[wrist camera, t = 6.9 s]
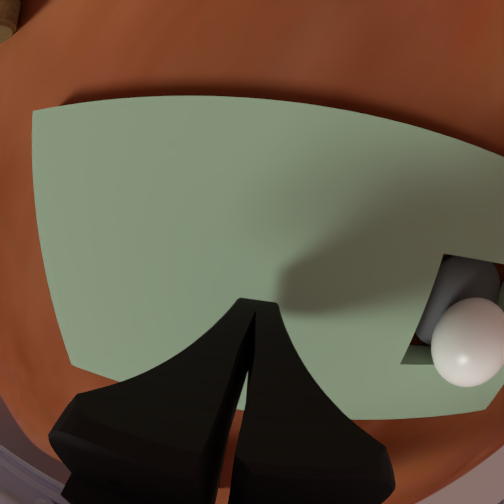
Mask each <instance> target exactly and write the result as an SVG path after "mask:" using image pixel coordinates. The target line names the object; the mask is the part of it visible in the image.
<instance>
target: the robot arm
mask: <svg viewBox="0 0 504 504" xmlns="http://www.w3.org/2000/svg"><path fill="white" fill-rule="evenodd" d="M247 373H248V378H247V393H246V404H245V409H244V414H243V419H242V424H241V429H240V433H239V438H238V443H237V447H236V452H235V457H234V465H233V472H232V480H231V488H230V495H229V501H228V504H381V503H382V502H384V501H385V500H386V499H387V498H388V497H389V496H390V495H391V494H392V492H393V491H394V489H395V485H396V484H395V478H394V472H393V468H392V465H391V461H390V458H389V455H388V453H387V450H386V447H385V446H384V445H383V444H381V443H380V442H378V441H377V440H376V439H374V438H373V437H372V436H370V435H369V434H368V433H366V432H365V431H364V430H362V429H361V428H360V427H358V426H357V425H356V424H355V423H354V422H353V421H352V420H351V419H349V418H348V417H347V416H346V415H345V414H344V413H343V412H342V411H341V410H340V409H339V408H338V407H337V406H336V405H335V404H334V403H333V401H332V400H331V399H330V398H329V397H328V396H327V395H326V394H325V393H324V391H323V390H322V389H321V388H320V386H319V385H318V384H317V382H316V381H315V380H314V378H313V377H312V375H311V374H310V373H309V371H308V370H307V368H306V366H305V365H304V363H303V362H302V360H301V358H300V356H299V355H298V353H297V351H296V349H295V347H294V345H293V343H292V341H291V339H290V337H289V334H288V332H287V330H286V327H285V325H284V322H283V319H282V316H281V313H280V308H279V305H278V304H277V303H276V302H269V301H261V300H254V299H248V298H241V297H240V298H239V299H237V300H236V301H235V303H234V304H233V305H232V306H231V308H230V309H229V310H228V311H227V312H226V313H225V314H224V315H223V316H222V317H221V318H220V319H219V320H218V321H217V322H216V323H215V324H214V325H213V326H212V327H211V328H210V329H209V330H208V331H207V332H205V333H204V334H203V335H202V336H201V337H199V338H198V339H197V340H196V341H195V342H193V343H192V344H191V345H189V346H188V347H187V348H185V349H184V350H183V351H181V352H180V353H178V354H176V355H175V356H173V357H172V358H170V359H168V360H167V361H165V362H163V363H161V364H160V365H158V366H156V367H154V368H152V369H150V370H148V371H146V372H144V373H142V374H139V375H137V376H135V377H132V378H130V379H127V380H124V381H122V382H119V383H116V384H113V385H110V386H106V387H103V388H99V389H95V390H92V391H88V392H84V393H79V394H77V395H76V396H75V397H74V398H73V400H72V401H71V402H70V403H69V404H68V405H67V407H66V408H65V410H64V411H63V413H62V414H61V416H60V417H59V419H58V420H57V422H56V423H55V425H54V426H53V428H52V430H51V431H50V433H49V434H48V437H49V442H50V445H51V446H52V448H53V450H54V451H55V453H56V454H57V455H58V456H59V458H60V459H61V460H62V462H63V463H64V464H65V465H66V466H67V468H68V469H69V470H70V472H71V473H72V474H71V475H70V477H69V479H68V481H67V483H66V485H63V484H61V483H60V482H58V481H56V480H54V479H52V478H51V477H49V476H47V475H45V474H44V473H42V472H40V471H39V470H37V469H35V468H34V467H32V466H31V465H29V464H28V463H26V462H25V461H23V460H22V459H20V458H19V457H17V456H16V455H14V454H12V453H11V452H10V451H8V450H7V449H6V448H4V447H3V446H2V445H0V504H215V501H216V496H217V492H218V486H219V481H220V477H221V472H222V467H223V462H224V457H225V452H226V447H227V442H228V437H229V432H230V429H231V425H232V421H233V418H234V415H235V412H236V408H237V405H238V402H239V399H240V396H241V392H242V389H243V386H244V383H245V379H246V376H247ZM498 504H504V500H502V501H501V502H499V503H498Z"/></svg>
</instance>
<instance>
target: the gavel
mask: <svg viewBox="0 0 504 504" xmlns="http://www.w3.org/2000/svg"><path fill="white" fill-rule="evenodd" d="M20 8H21V2H20V0H0V43H2V42H3V41H5V40H6V39H8V38H9V37H11V36H12V35H13V34H14V33H15V32H16V30H17V24H18V18H19V13H20Z"/></svg>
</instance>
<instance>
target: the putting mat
mask: <svg viewBox="0 0 504 504" xmlns="http://www.w3.org/2000/svg"><path fill="white" fill-rule="evenodd" d="M32 166H33V184H34V197H35V207H36V216H37V224H38V231H39V238H40V245H41V250H42V256H43V261H44V267H45V272H46V276H47V281H48V285H49V290H50V294H51V298H52V302H53V306H54V310H55V313H56V317H57V320H58V324H59V327H60V331H61V334H62V337H63V340H64V343H65V346H66V349H67V352H68V355H69V358H70V361H71V364H72V365H74V366H76V367H79V368H82V369H84V370H87V371H90V372H93V373H95V374H98V375H101V376H104V377H107V378H110V379H113V380H116V381H120V382H122V381H124V380H127V379H130V378H132V377H135V376H137V375H139V374H142V373H144V372H146V371H148V370H150V369H152V368H154V367H156V366H158V365H160V364H161V363H163V362H165V361H167V360H168V359H170V358H172V357H173V356H175V355H176V354H178V353H180V352H181V351H183V350H184V349H185V348H187V347H188V346H189V345H191V344H192V343H193V342H195V341H196V340H197V339H198V338H199V337H201V336H202V335H203V334H204V333H205V332H207V331H208V330H209V329H210V328H211V327H212V326H213V325H214V324H215V323H216V322H217V321H218V320H219V319H220V318H221V317H222V316H223V315H224V314H225V313H226V312H227V311H228V310H229V309H230V308H231V306H232V305H233V304H234V303H235V301H236V300H237V299H239V298H240V297H241V298H248V299H254V300H261V301H269V302H276V303H277V304H278V305H279V308H280V313H281V316H282V319H283V322H284V325H285V327H286V330H287V332H288V334H289V337H290V339H291V341H292V343H293V345H294V347H295V349H296V351H297V353H298V355H299V356H300V358H301V360H302V362H303V363H304V365H305V366H306V368H307V370H308V371H309V373H310V374H311V375H312V377H313V378H314V380H315V381H316V382H317V384H318V385H319V386H320V388H321V389H322V390H323V391H324V393H325V394H326V395H327V396H328V397H329V398H330V399H331V400H332V401H333V403H334V404H335V405H336V406H337V407H338V408H339V409H340V410H341V411H342V412H343V413H344V414H345V415H346V416H347V417H348V418H349V419H355V420H377V419H407V418H422V417H434V416H444V415H452V414H460V413H468V412H474V411H480V410H485V409H486V408H487V407H488V405H489V404H490V403H491V401H492V400H493V399H494V397H495V396H496V394H497V393H498V392H499V390H500V389H501V387H502V386H503V384H504V365H503V366H502V368H501V369H500V370H499V372H498V373H497V374H496V375H495V376H494V377H492V378H491V379H490V380H488V381H487V382H485V383H483V384H481V385H477V386H474V387H460V386H456V385H453V384H451V383H449V382H448V381H446V380H445V379H444V378H443V377H442V376H441V375H440V374H439V372H438V371H437V369H436V367H435V365H434V363H433V359H432V354H431V341H432V335H433V332H434V329H435V326H436V324H437V322H438V321H439V319H440V317H441V316H442V315H443V314H444V312H445V311H446V310H447V309H448V308H449V307H451V306H452V305H453V304H455V303H457V302H459V301H461V300H464V299H467V298H474V297H478V298H484V299H487V300H490V301H492V302H494V303H495V304H496V305H498V306H499V307H500V308H501V309H502V311H503V312H504V281H503V283H502V286H501V288H500V280H499V274H498V271H497V269H496V267H495V265H494V264H493V263H492V262H495V263H500V264H504V157H502V156H500V155H497V154H495V153H492V152H490V151H487V150H485V149H482V148H480V147H477V146H474V145H472V144H469V143H466V142H463V141H461V140H458V139H455V138H452V137H449V136H446V135H443V134H440V133H436V132H433V131H430V130H426V129H423V128H420V127H416V126H412V125H409V124H405V123H401V122H397V121H393V120H389V119H385V118H381V117H376V116H372V115H367V114H363V113H358V112H353V111H347V110H342V109H336V108H331V107H324V106H318V105H311V104H304V103H297V102H288V101H279V100H269V99H258V98H244V97H226V96H152V97H134V98H121V99H110V100H100V101H92V102H84V103H77V104H70V105H64V106H58V107H52V108H46V109H41V110H36V111H33V118H32ZM443 254H449V255H451V256H449V257H447V258H445V259H444V260H442V257H443ZM499 290H500V291H499ZM414 333H416V334H417V336H418V337H419V339H420V340H421V341H423V342H424V343H426V344H428V345H430V346H421V345H409V344H410V342H411V340H412V337H413V335H414ZM247 378H248V373H247V376H246V379H245V383H244V386H243V389H242V392H241V396H240V399H239V402H238V405H237V408H236V409H239V410H244V409H245V404H246V393H247Z"/></svg>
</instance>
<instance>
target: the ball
mask: <svg viewBox="0 0 504 504" xmlns="http://www.w3.org/2000/svg"><path fill="white" fill-rule="evenodd" d="M431 354H432V359H433V363H434V365H435V367H436V369H437V371H438V372H439V374H440V375H441V376H442V377H443V378H444V379H445V380H446V381H448V382H449V383H451V384H453V385H456V386H460V387H474V386H477V385H481V384H483V383H485V382H487V381H488V380H490V379H491V378H492V377H494V376H495V375H496V374H497V373H498V372H499V370H500V369H501V368H502V366H503V365H504V312H503V311H502V309H501V308H500V307H499V306H498V305H496V304H495V303H494V302H492V301H490V300H487V299H484V298H478V297H474V298H467V299H464V300H461V301H459V302H457V303H455V304H453V305H452V306H451V307H449V308H448V309H447V310H446V311H445V312H444V314H443V315H442V316H441V317H440V319H439V321H438V322H437V324H436V326H435V329H434V332H433V335H432V341H431Z"/></svg>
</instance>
